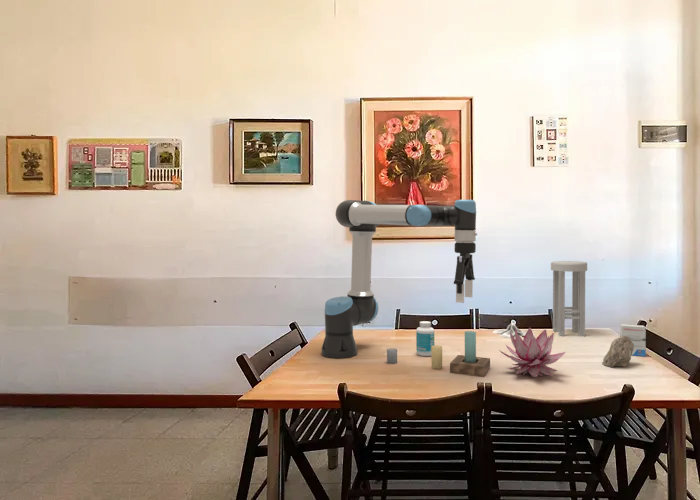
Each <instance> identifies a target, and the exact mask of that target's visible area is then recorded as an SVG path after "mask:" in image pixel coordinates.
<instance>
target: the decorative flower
mask: <svg viewBox="0 0 700 500" xmlns="http://www.w3.org/2000/svg"><path fill="white" fill-rule="evenodd" d="M526 332H527V333H526V334H525V336H524V337H523V339H522V337H521V336H519V335H518V332H517V329H516V328H515V337H513V335H512V333H511V331H510V337H511V338H510V340H511V343H512V345H513V347H514V349H512V348H511V347H510V346H508V344H505V346H506V348H507V350H508V351H509V353H511V355H509V354H507V353H505V352H503V351H501V350H500V349H498V351H499V352H500V353H501V354H502V355H504V356H506V357H507V358H509V359H510V360H512V361H513V362H515V363H512V366H514V367H507V368H506V369H508V370H514V369H518V370H517V371H516V372H515V373H514V374H515V375H518V374H522V373H523V374H522V376H525V375H526V374H528V372H529V374H530V376H532V378H537V377H538V376H540V377H543V375H542V374H544V375H546V376H550V377H551V376H552V377H554V375H553V373H552V372H558V370H557V369H555V368H552V367H549V366H548V365H551V364H553V363H556V362H558V360H560V359H561V358H562V357H563V356H564V355H565V354H566V351H563V352H559V353H554V354H551V353H552V348H553V347H552V346H553V343H554V336H555V332H552V333H551V335H548V332H547V329H544V330H543V331H541V333H540V334H539V335H538V336H537V337H536V336H535V337H534V336H533V330H532V328H531V327H528V329H527V331H526ZM514 338H515V339H514ZM514 350H515V351H514Z"/></svg>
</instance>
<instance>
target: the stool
mask: <svg viewBox="0 0 700 500" xmlns="http://www.w3.org/2000/svg"><path fill="white" fill-rule="evenodd" d="M550 270H551V271H552V332H553V333H558V336H559V337H565V334H566V328H565V326H566V325H565V321H566V320H571V322H572V323H571V328H572V330H571V332H573V333H578V336H579V337H586V272H587V271H588V262H586V261H578V260H557V261H556V260H555V261H551V262H550ZM566 272H570V273H571V272H572V276H571V277H572V279H571V280H572V283H571V284H572V287H571V288H572V298H571V299H572V303H571V304H572V305H571V306H566V304H565V303H566V298H565V297H566V294H565V293H566V292H565V291H566V286H565V285H566V284H565V282H566Z"/></svg>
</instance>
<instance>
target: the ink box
mask: <svg viewBox="0 0 700 500" xmlns="http://www.w3.org/2000/svg"><path fill="white" fill-rule="evenodd" d="M619 327H620V331H619V332H620V336H619V338H620V337H621V336H628V337H629V339H630V340H631V341H632V342H633V344H634V349H633V351H632V355H631V357H632V356H633V357H634V356H636V357H646V353H647V352H646V349H647V346H646V345H647V344H646V343H647V341H646V339H647V336H646V335H647V331H646V330H647V329H646V327H645V325H641V324H640V325H637V324H624V323H621V324H620V326H619Z"/></svg>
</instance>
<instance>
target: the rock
mask: <svg viewBox="0 0 700 500" xmlns="http://www.w3.org/2000/svg"><path fill="white" fill-rule="evenodd" d="M633 349H634V344H633V342H632V341H631V340H630V339H629V337H628V336H621V337H620V336H619V337H617V338H615V339H614V340H613V341H612V342H611V343H610V347H609V349H608V351H607V353H606V354H605V356H603V360H602V362H601V364H602V365H603V366H605V367H608V368H609V367H610V368H613V367H623V368H624V367H626V366H628V364H630V361H631V359H632V351H633Z"/></svg>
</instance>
